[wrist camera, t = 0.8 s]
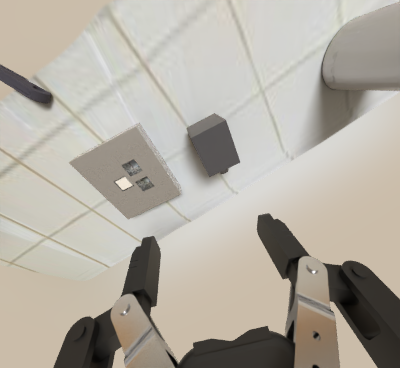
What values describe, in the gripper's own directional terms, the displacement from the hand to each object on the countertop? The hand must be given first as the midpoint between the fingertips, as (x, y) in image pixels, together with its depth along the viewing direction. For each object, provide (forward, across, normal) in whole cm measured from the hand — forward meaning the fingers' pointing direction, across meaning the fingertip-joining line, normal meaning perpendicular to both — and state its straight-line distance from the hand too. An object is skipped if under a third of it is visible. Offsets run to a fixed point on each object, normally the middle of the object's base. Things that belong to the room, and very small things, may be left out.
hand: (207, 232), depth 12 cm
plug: (+20, -3, -1) cm, 21 cm away
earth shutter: (+18, +12, +3) cm, 22 cm away
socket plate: (+20, +11, +3) cm, 23 cm away
